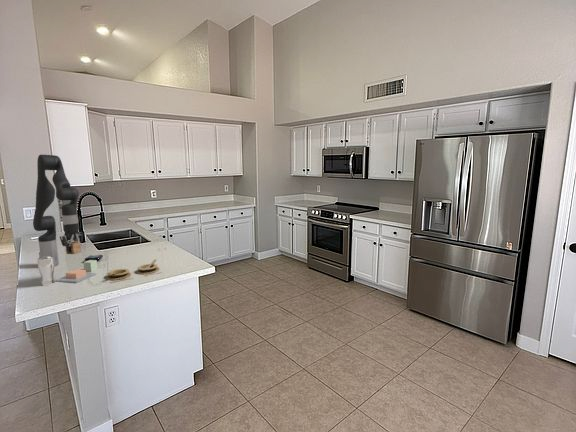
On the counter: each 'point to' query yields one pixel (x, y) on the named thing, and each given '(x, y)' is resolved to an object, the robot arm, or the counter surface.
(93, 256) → the purple clover wallet
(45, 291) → the counter surface
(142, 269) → the tableware set
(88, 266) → the block
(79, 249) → the block
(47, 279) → the beer glass
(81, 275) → the plate
